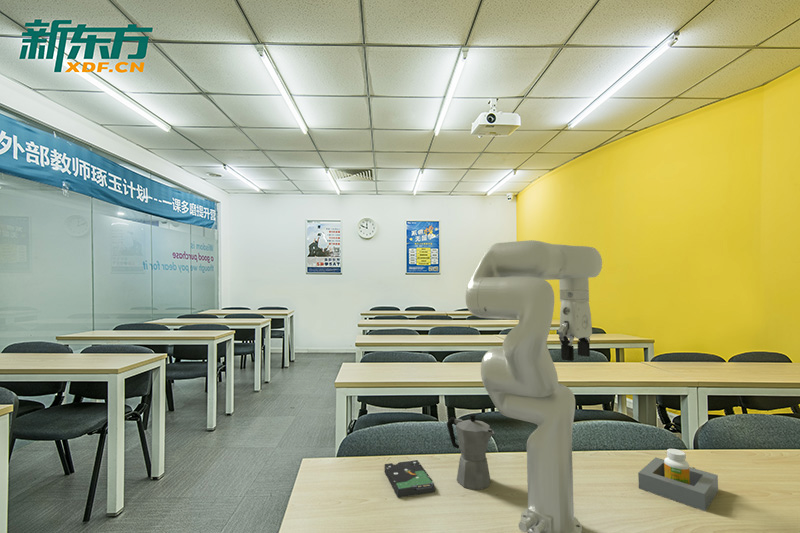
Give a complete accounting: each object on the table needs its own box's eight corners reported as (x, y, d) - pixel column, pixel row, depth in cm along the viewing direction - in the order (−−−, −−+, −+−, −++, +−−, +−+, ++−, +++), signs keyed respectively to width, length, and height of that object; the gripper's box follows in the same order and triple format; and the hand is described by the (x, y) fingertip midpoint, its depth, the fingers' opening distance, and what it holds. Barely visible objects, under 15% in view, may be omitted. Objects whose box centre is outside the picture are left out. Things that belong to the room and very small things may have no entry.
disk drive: (383, 474, 111) (397, 500, 97) (383, 463, 112) (397, 488, 97) (417, 469, 114) (436, 493, 100) (417, 459, 114) (435, 482, 100)
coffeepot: (504, 483, 104) (502, 415, 105) (485, 497, 98) (484, 424, 99) (457, 465, 115) (456, 404, 116) (437, 476, 108) (437, 411, 109)
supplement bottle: (669, 493, 99) (667, 454, 100) (662, 483, 104) (660, 446, 105) (694, 496, 97) (692, 457, 98) (685, 486, 103) (683, 448, 103)
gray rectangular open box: (705, 511, 91) (704, 492, 91) (638, 488, 102) (638, 471, 102) (725, 479, 106) (724, 463, 106) (665, 462, 117) (665, 447, 117)
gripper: (573, 297, 100) (575, 364, 99) (601, 296, 111) (602, 356, 110) (545, 296, 106) (547, 360, 105) (575, 295, 117) (576, 352, 116)
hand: (575, 357), depth 107 cm, fingers open, 9 cm apart
